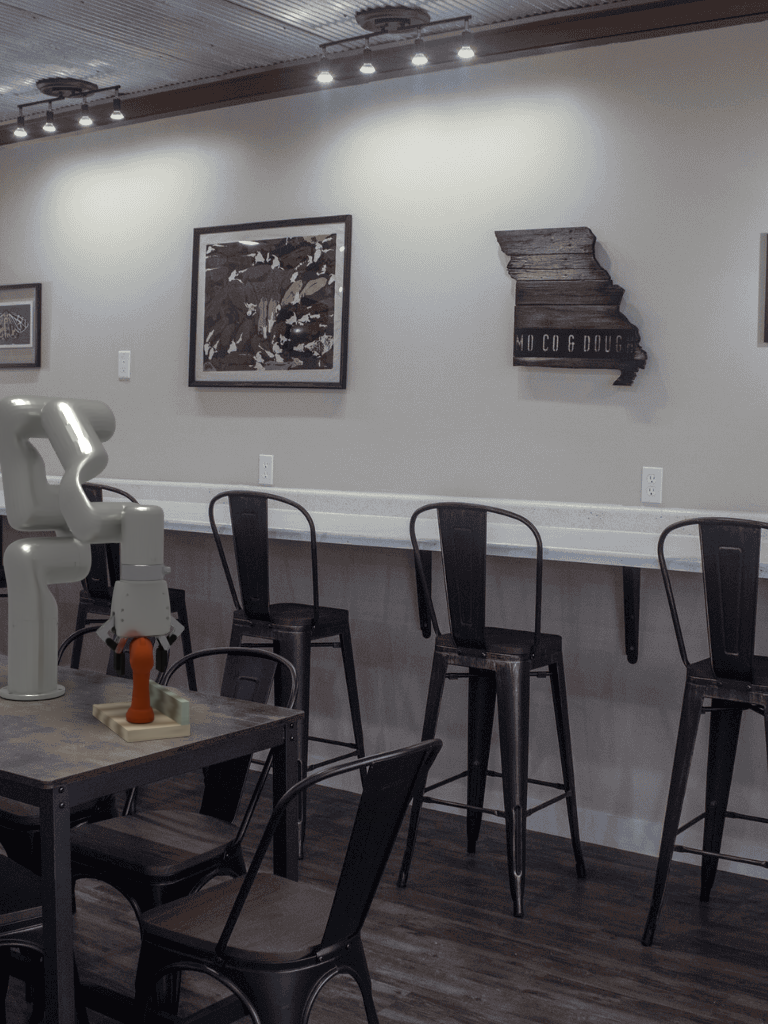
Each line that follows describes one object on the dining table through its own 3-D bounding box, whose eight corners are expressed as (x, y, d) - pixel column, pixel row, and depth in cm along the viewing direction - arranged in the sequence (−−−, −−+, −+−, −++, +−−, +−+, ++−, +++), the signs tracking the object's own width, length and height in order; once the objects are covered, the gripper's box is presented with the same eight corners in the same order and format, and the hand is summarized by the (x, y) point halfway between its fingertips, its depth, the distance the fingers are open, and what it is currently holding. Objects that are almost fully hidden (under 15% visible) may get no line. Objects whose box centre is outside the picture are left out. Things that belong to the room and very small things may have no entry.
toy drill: (149, 694, 208) (151, 617, 206) (155, 728, 190) (158, 644, 188) (122, 694, 207) (125, 617, 205) (126, 728, 189) (129, 644, 187)
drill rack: (92, 715, 204) (93, 683, 204) (149, 709, 210) (150, 678, 209) (127, 742, 185) (128, 707, 185) (190, 735, 191) (190, 701, 190)
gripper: (181, 570, 204) (179, 665, 204) (87, 573, 195) (86, 672, 196) (195, 574, 197) (193, 672, 198) (99, 577, 189) (98, 680, 189)
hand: (140, 671), depth 197 cm, fingers open, 6 cm apart
